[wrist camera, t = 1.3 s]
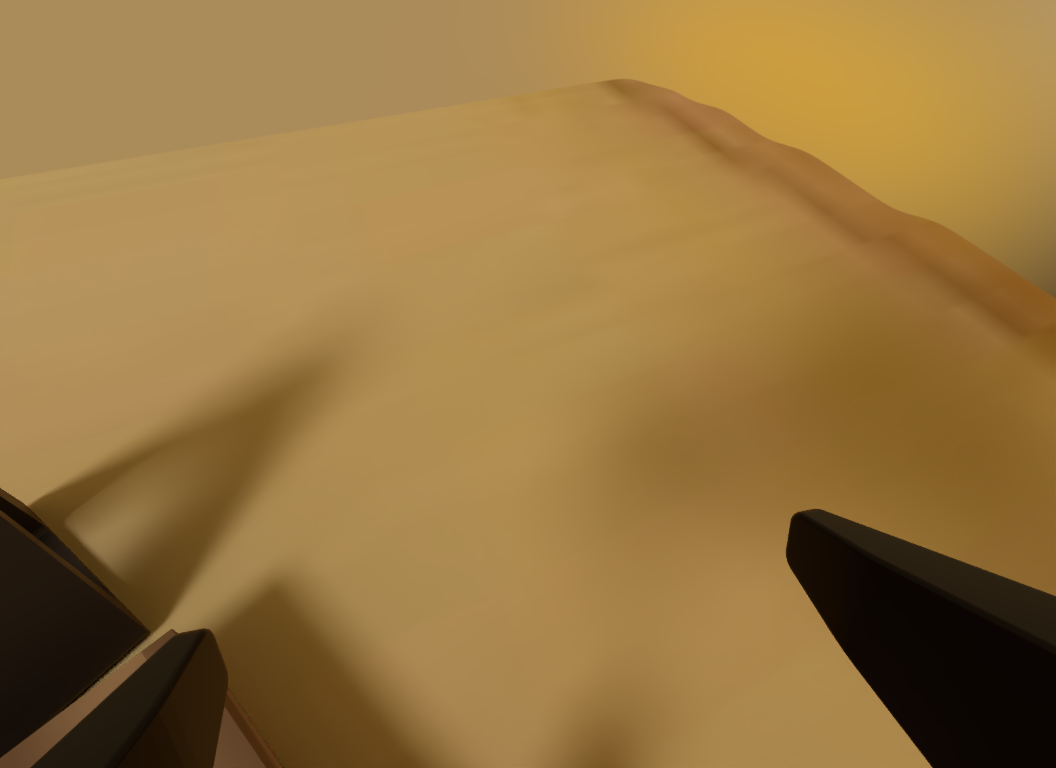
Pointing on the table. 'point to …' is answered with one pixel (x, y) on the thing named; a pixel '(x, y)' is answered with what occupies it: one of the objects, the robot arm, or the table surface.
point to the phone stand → (50, 624)
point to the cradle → (240, 748)
